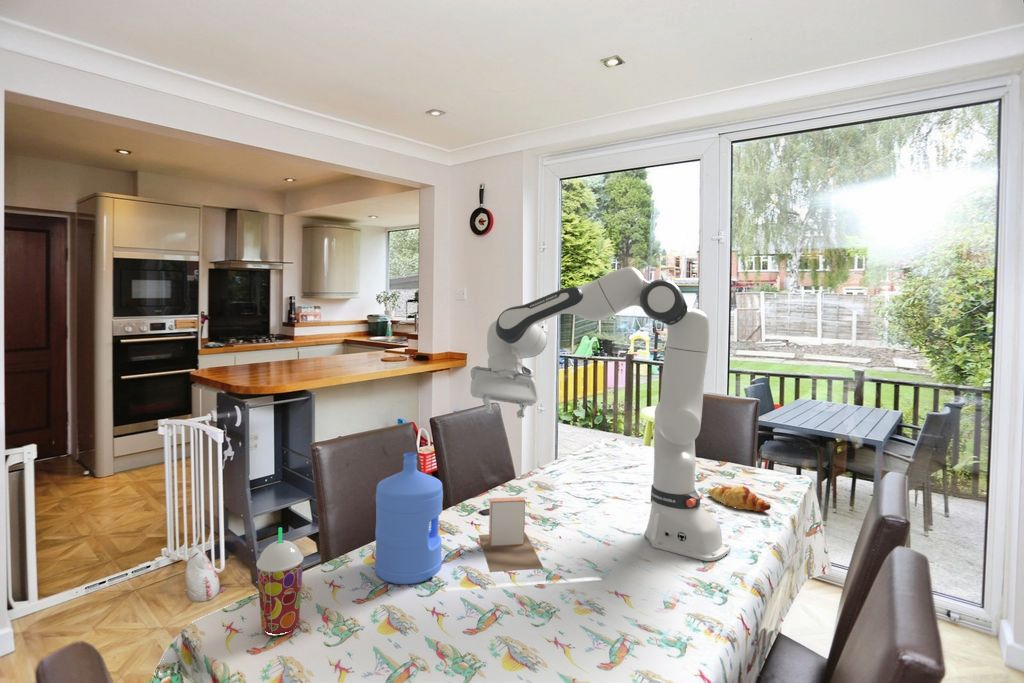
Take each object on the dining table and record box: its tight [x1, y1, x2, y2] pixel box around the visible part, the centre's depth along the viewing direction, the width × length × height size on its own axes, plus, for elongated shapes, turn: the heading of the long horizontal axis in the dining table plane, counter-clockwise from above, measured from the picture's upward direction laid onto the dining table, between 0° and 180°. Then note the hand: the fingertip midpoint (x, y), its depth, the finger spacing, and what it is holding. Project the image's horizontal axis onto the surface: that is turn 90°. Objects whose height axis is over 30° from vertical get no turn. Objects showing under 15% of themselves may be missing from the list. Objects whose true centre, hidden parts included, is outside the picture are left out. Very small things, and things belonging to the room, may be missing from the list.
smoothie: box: [255, 527, 304, 634], centre depth 107 cm, size 8×8×20 cm
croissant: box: [707, 485, 772, 512], centre depth 182 cm, size 21×10×8 cm, turn 42°
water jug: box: [374, 452, 444, 585], centre depth 132 cm, size 16×16×28 cm
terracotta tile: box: [488, 496, 526, 547], centre depth 146 cm, size 3×9×12 cm, turn 101°
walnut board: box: [478, 532, 544, 573], centre depth 143 cm, size 21×13×1 cm, turn 11°
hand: (506, 414), depth 155 cm, fingers open, 8 cm apart
